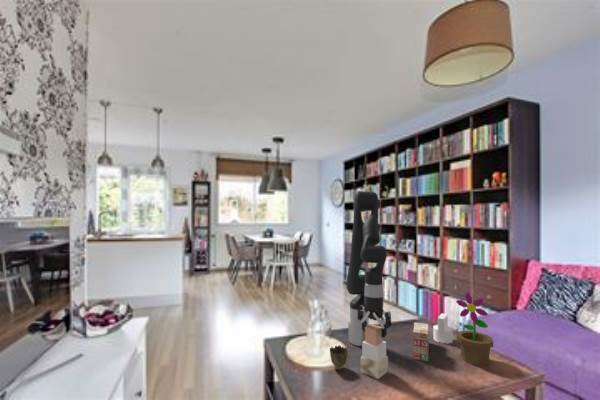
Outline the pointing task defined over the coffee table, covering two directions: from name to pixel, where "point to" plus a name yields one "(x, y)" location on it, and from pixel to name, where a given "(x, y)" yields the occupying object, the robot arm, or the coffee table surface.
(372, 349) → the cream middle block
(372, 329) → the tan block
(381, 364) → the maple base block
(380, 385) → the coffee table surface
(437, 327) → the cylinder with rectangular tab
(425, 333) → the stack of blocks
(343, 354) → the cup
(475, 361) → the flowerpot
